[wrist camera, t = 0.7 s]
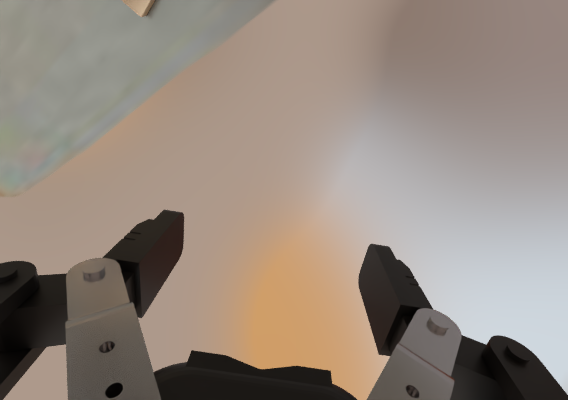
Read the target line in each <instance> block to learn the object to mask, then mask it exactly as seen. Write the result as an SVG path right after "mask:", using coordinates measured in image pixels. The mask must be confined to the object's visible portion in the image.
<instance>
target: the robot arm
mask: <svg viewBox="0 0 568 400" xmlns="http://www.w3.org/2000/svg"><path fill="white" fill-rule="evenodd" d="M183 239H184V214H183V213H182V212H176V211H169V210H163V211H162V212H161V213H160V214H159V215H158V216H157V217H156V218H155V219H154V220H151V219H148V220H146V221H144V222H142V223H139V224H137V225H136V226H135V227H134V228H133V229H132V230H131V231H130V233H128V234H127V235H126V236H125V237H124V239H122V240H121V241H119V242H118V243H117V244H116V245H115V246H114V247H113V248H112V249H111V250H110V251H109V252H108V253H107V254H106V255H105V256H104V257H103V258H95V259H90V260H86V261H84V262H81V263H79V264H77V265H75V266H74V267H72V268H71V269H70V270H69V271H68V273H67V274H54V275H38V274H37V271H36V267H35V266H34V265H33V264H32V263H29V262H24V261H12V262H5V263H1V264H0V400H3V399H4V398H5V396H6V395H7V394H8V393H9V392H10V390H11V389H12V388H13V386H15V384H16V383H17V382H18V381H19V379H20V378H21V377H22V376H23V375H24V374H25V372H26V371H27V370H28V369H29V367H30V366H31V365H32V364H33V363H34V361H35V360H36V359H37V358H38V357H39V355H40V354H41V353H42V352H43V351H44V349H45V348H46V347H48V346H56V345H64V344H66V356H67V386H68V400H357V399H356V398H355V397H354V396H352V395H351V394H350V393H348V392H346V391H345V390H344V389H342V388H340V387H338V386H336V385H334V384H332V379H331V371H328V370H321V369H315V368H307V367H301V366H291V367H282V368H272V369H257V368H255V367H253V366H250V365H248V364H245V363H243V362H241V361H238V360H236V359H233V358H231V357H229V356H226V355H220V354H212V353H205V352H198V351H191V354H190V356H189V359H188V362H185V363H179V364H175V365H171V366H168V367H165V368H162V369H160V370H158V371H155V372H153V369H152V366H151V362H150V359H149V355H148V352H147V348H146V345H145V341H144V338H143V334H142V331H141V328H140V324H139V320H138V317H139V318H142V317H143V316H144V314H145V312H146V311H147V309H148V308H149V306H150V305H151V303H152V301H153V300H154V298H155V297H156V295H157V293H158V292H159V290H160V289H161V287H162V285H163V284H164V282H165V281H166V279H167V278H168V276H169V274H170V273H171V271H172V269H173V268H174V266H175V265H176V263H177V262H178V260H179V258H180V256H181V254H182V250H183ZM359 289H360V292H361V296H362V299H363V302H364V306H365V309H366V313H367V316H368V319H369V322H370V326H371V329H372V333H373V336H374V339H375V343H376V346H377V350H378V353H379V355H386V356H391V357H390V358H389V360H388V362H387V364H386V366H385V367H384V369H383V371H382V373H381V375H380V377H379V378H378V380H377V382H376V384H375V386H374V388H373V389H372V391H371V393H370V395H369V397H368V398H367V400H568V395H567V394H566V392H565V391H564V390H563V389H562V387H561V386H560V385H559V384H558V382H557V381H556V380H555V379H554V378H553V376H552V375H551V374H550V372H549V371H548V370H547V369H546V367H545V366H544V365H543V364H542V362H541V361H540V360H539V359H538V358H537V356H536V355H535V354H534V353H532V352H531V351H530V350H529V349H527V348H526V347H525V346H523V345H522V344H520V343H518V342H517V341H515V340H513V339H510V338H508V337H504V336H493V337H491V339H490V340H489V342H488V343H487V345H485V344H483V343H480V342H478V341H475V340H473V339H470V338H467V337H465V336H463V335H461V332H460V329H459V328H458V326H457V325H456V324H455V323H454V322H453V321H452V320H451V319H450V318H449V317H447V316H446V315H444V314H442V313H440V312H438V311H436V310H433V308H432V306H431V305H430V303H429V301H428V300H427V298H426V296H425V295H424V293H423V291H422V289H421V288H420V287H419V284H418V282H417V281H416V279H414V276H413V274H412V272H411V271H410V269H409V268H408V267H407V266H406V265H405V264H404V263H403V262H402V261H401V260H397V259H396V258H395V256H394V254H393V252H392V251H391V249H390V247H388V246H382V245H376V244H370V245H369V247H368V250H367V253H366V255H365V258H364V261H363V264H362V267H361V270H360V274H359Z"/></svg>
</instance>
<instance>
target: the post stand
mask: <svg viewBox="0 0 568 400" xmlns="http://www.w3.org/2000/svg"><path fill="white" fill-rule="evenodd" d="M122 1H123V2H124V3H125V4H127V5H128V6H129V7H130V8H131V9H132V10H133V11H135V12H136V13H137V14H138V15H139V16H140V17H144V16H146V15H147V14H148V12H149V10H150V8H151V7H152V5H153V3H154V1H155V0H122Z"/></svg>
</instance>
